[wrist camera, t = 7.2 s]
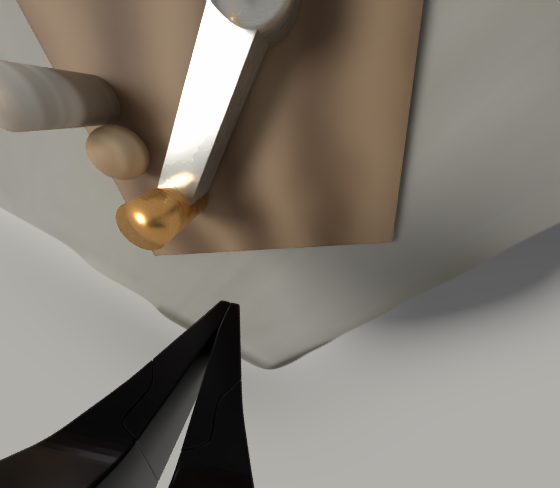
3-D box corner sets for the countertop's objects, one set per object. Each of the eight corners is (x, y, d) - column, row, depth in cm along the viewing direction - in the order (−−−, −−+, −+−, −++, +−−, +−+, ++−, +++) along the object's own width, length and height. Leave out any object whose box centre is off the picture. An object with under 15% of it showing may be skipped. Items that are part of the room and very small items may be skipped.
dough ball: (146, 119, 16) (106, 121, 13) (167, 170, 18) (136, 183, 14) (105, 127, 16) (58, 131, 13) (129, 175, 18) (92, 188, 15)
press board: (448, -278, 8) (849, -1436, 2) (388, 235, 19) (422, 293, 13) (-3, -70, 12) (-301, -238, 6) (161, 249, 24) (109, 297, 18)
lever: (279, -205, 8) (229, -668, 3) (360, -124, 9) (416, -407, 4) (163, 197, 18) (106, 230, 13) (205, 221, 19) (167, 261, 14)
